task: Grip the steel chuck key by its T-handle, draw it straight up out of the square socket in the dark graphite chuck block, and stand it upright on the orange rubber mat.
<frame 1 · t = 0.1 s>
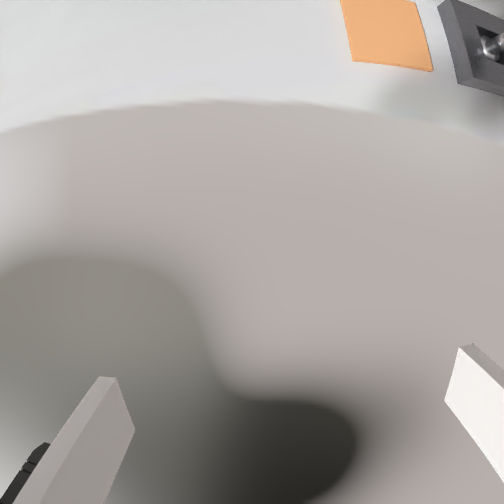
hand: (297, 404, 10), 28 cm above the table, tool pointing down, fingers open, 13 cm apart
chuck block: (479, 52, 30), on the table
chuck key: (479, 52, 30), resting in chuck block
key mat: (386, 29, 31), on the table
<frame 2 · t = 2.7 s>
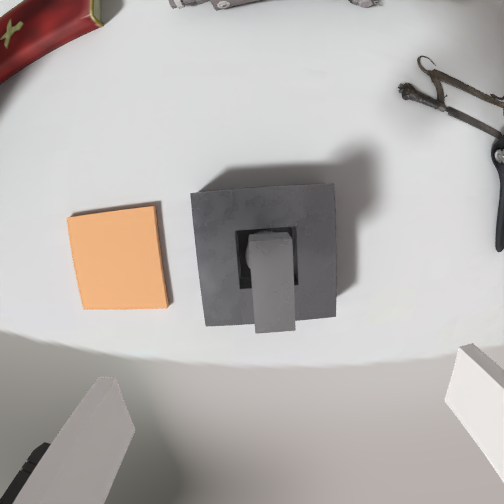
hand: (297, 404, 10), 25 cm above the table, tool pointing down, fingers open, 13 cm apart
hardcover book: (45, 29, 28), on the table
chuck block: (265, 249, 35), on the table
chuck key: (265, 249, 35), resting in chuck block
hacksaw: (467, 93, 31), on the table, touching can opener
can opener: (500, 192, 33), on the table, touching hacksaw
key mat: (116, 260, 35), on the table
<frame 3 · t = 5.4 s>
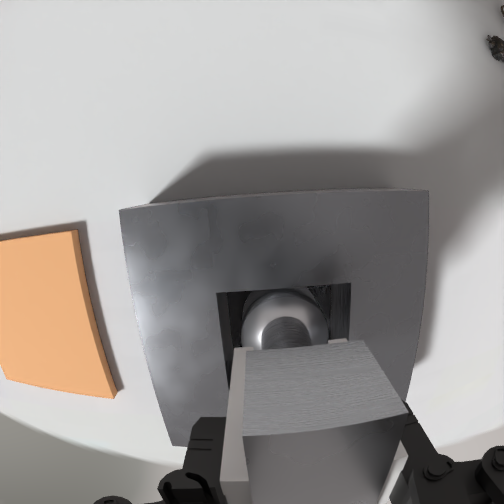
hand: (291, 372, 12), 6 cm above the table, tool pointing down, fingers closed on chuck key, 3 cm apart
chuck block: (280, 314, 18), on the table
chuck key: (280, 314, 18), resting in chuck block, touching gripper
key mat: (33, 317, 18), on the table
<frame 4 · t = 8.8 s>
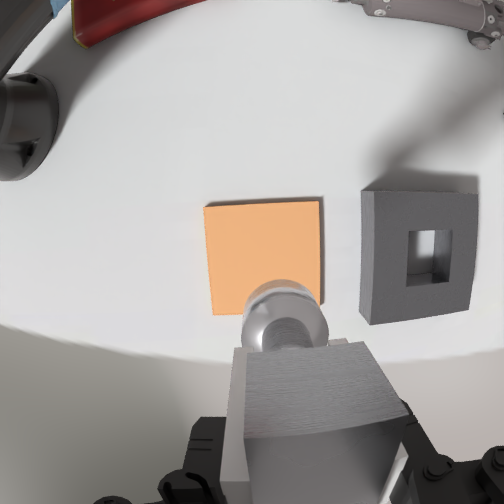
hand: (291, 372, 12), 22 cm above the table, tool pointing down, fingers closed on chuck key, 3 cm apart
chuck block: (414, 250, 33), on the table
hydraulic cylinder: (442, 21, 27), on the table
chuck key: (280, 314, 18), point 16 cm above the table, touching gripper
key mat: (263, 259, 34), on the table
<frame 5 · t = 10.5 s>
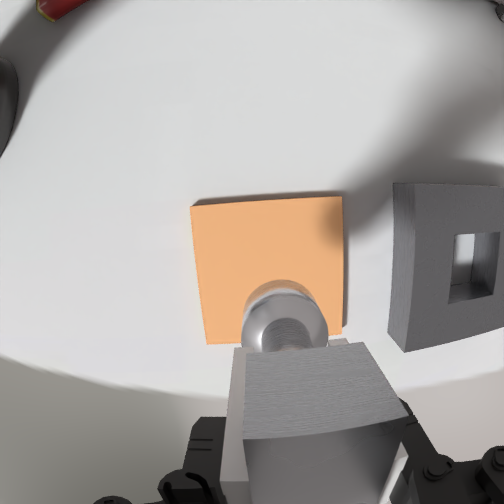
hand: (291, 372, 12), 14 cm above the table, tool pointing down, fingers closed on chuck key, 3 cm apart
chuck block: (452, 256, 26), on the table
chuck key: (280, 315, 18), point 8 cm above the table, touching gripper
key mat: (270, 272, 26), on the table
when the fingers open (9 cm above the table, at t = 12.1 s): chuck key drops 2 cm, resting on key mat.
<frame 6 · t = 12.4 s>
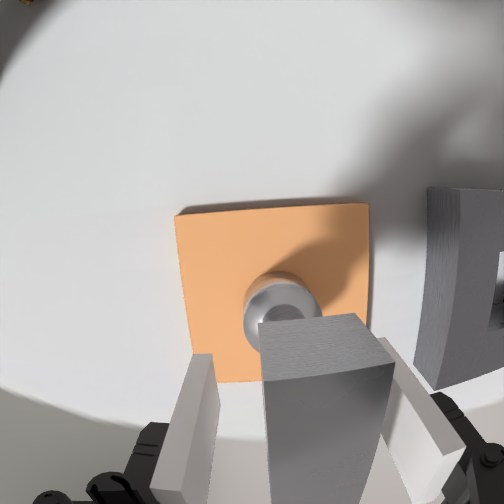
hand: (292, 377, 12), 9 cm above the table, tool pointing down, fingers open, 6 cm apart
chuck block: (488, 274, 20), on the table
chuck key: (277, 304, 20), point 1 cm above the table, touching key mat
key mat: (277, 299, 20), on the table
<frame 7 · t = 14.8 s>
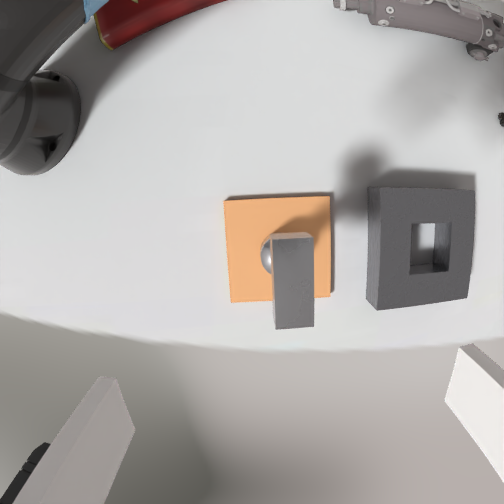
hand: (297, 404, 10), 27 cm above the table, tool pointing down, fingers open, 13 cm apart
chuck block: (416, 242, 36), on the table
hydraulic cylinder: (443, 33, 30), on the table
chuck key: (279, 251, 36), point 1 cm above the table, touching key mat
key mat: (279, 249, 36), on the table
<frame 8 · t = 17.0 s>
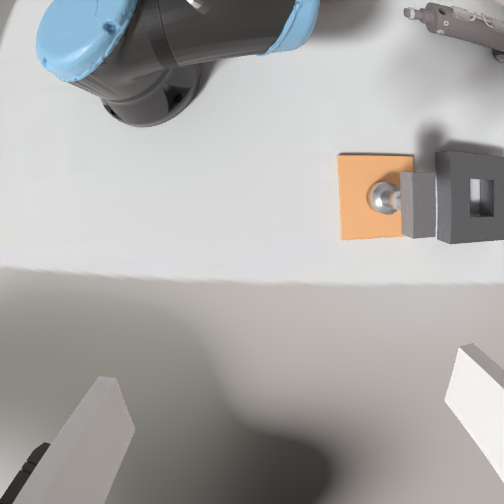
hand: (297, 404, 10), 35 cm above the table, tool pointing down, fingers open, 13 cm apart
chuck block: (468, 196, 42), on the table
hydraulic cylinder: (476, 40, 35), on the table
chuck key: (379, 197, 42), point 1 cm above the table, touching key mat
key mat: (378, 196, 42), on the table
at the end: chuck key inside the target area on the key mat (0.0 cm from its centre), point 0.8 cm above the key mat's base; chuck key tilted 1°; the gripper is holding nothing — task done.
